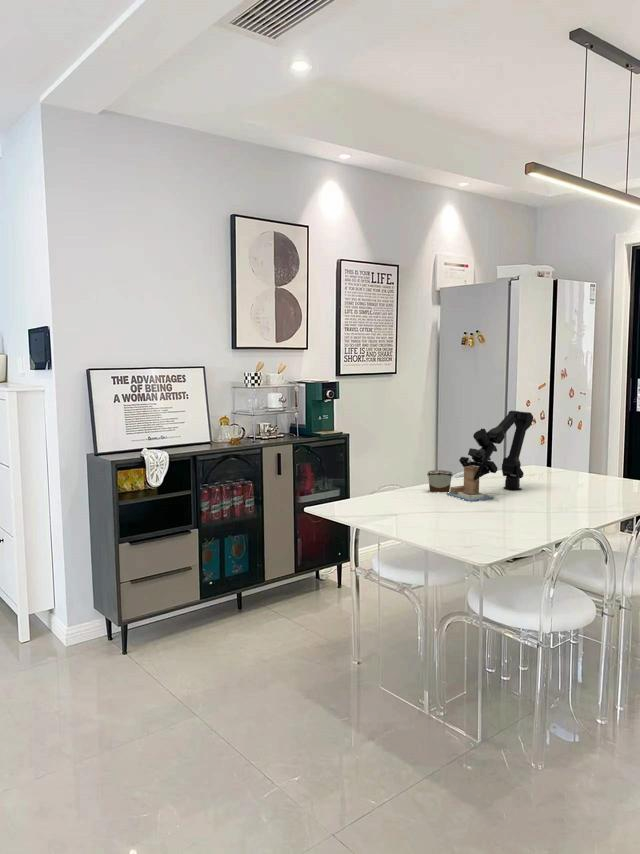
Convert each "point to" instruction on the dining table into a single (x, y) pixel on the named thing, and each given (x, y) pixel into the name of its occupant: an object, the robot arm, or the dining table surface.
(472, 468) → the pillar
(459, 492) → the blueprint board
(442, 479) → the food container
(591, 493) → the dining table surface
